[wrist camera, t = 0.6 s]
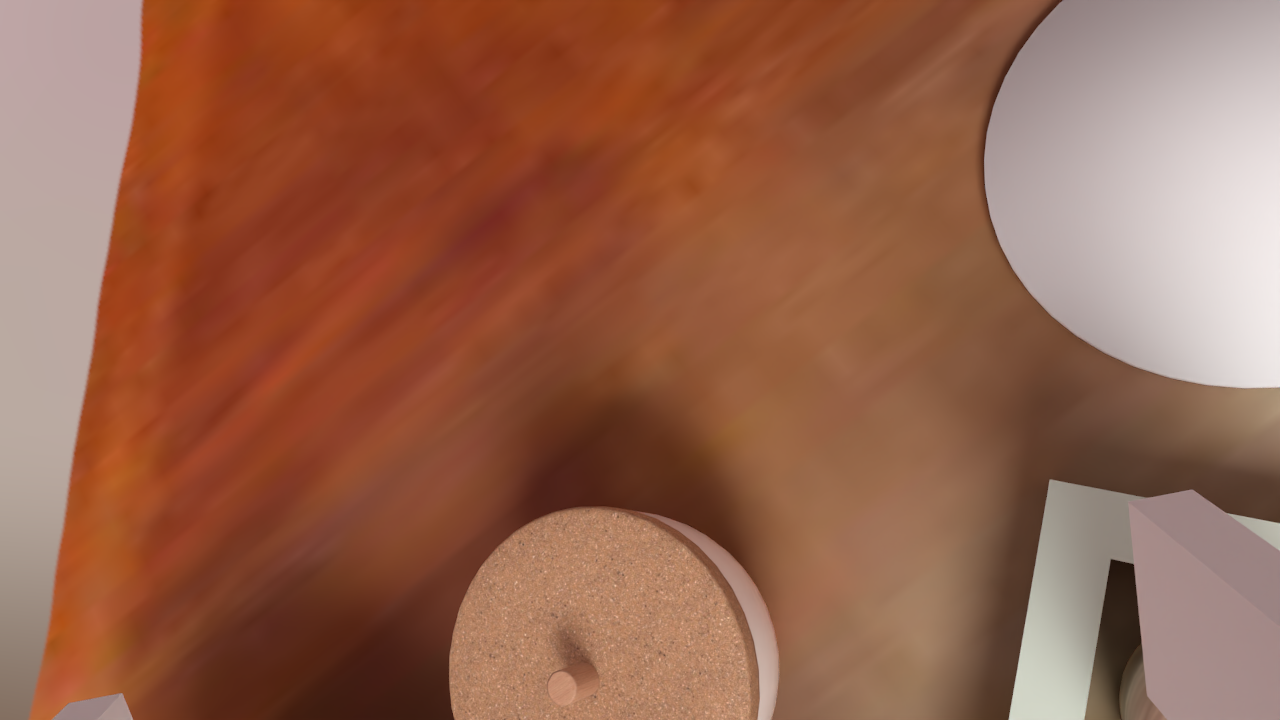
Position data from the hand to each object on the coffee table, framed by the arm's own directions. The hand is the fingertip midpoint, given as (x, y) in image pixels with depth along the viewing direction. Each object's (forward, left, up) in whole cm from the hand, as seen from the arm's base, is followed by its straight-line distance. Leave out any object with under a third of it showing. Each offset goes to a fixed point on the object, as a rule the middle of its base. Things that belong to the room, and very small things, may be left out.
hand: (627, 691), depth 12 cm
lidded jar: (+5, -8, -24) cm, 25 cm away
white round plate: (-16, +8, -23) cm, 29 cm away
